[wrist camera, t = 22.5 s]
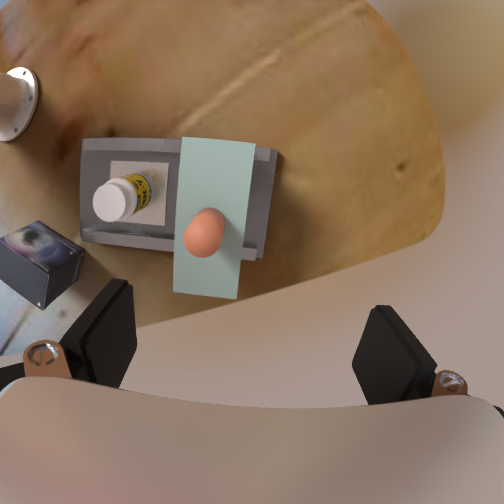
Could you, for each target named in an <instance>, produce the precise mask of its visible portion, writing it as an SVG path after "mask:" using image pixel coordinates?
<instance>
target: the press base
mask: <svg viewBox="0 0 504 504" xmlns="http://www.w3.org/2000/svg"><path fill="white" fill-rule="evenodd" d="M181 146H182V140H180V139H158V138H84V139H82V147H81V163H80V233H81V238H82V241H85V242H93V243H102V244H110V245H118V246H127V247H135V248H144V249H153V250H161V251H170V252H174V237H175V218H176V203H177V189H178V177H179V166H180V156H181ZM277 154H278V150H277V149H271V148H264V147H256V146H255V152H254V160H253V168H252V176H251V184H250V192H249V199H248V207H247V215H246V224H245V232H244V240H243V248H242V256H241V259H242V260H252V261H255V260H256V258H263V253H264V246H265V239H266V232H267V225H268V218H269V211H270V204H271V197H272V190H273V183H274V176H275V168H276V161H277ZM129 174H140V175H143V176H144V177H146V178H147V179H148V181H149V182H150V184H151V187H152V198H151V200H150V202H149V204H148V205H147V206H146V207H145V208H144V209H142V210H140V211H139V212H137V213H135V214H134V215H132V216H130V217H129V218H127V219H125V220H120V221H114V222H106V221H103V220H102V219H100V218H99V217H98V216H97V214H96V213H95V211H94V208H93V197H94V194H95V192H96V190H97V189H98V188H99V187H101V186H102V185H104V184H105V183H106V182H107V181H109V180H111V179H113V178H117V177H121V176H125V175H129Z"/></svg>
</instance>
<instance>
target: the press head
mask: <svg viewBox="0 0 504 504" xmlns="http://www.w3.org/2000/svg"><path fill="white" fill-rule="evenodd" d="M255 145H256V144H255V143H247V142H238V141H229V140H218V139H206V138H193V137H182V146H181V156H180V166H179V177H178V189H177V203H176V218H175V237H174V264H173V292H178V293H186V294H194V295H202V296H211V297H220V298H229V299H236V298H237V290H238V281H239V273H240V265H241V256H242V248H243V240H244V232H245V224H246V215H247V207H248V199H249V192H250V184H251V176H252V168H253V160H254V152H255Z"/></svg>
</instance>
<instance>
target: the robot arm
mask: <svg viewBox="0 0 504 504" xmlns="http://www.w3.org/2000/svg"><path fill="white" fill-rule="evenodd" d="M37 99H38V82H37V78H36V76H35V74H34V73H33V72H32V71H31V70H30V69H28V68H24V67H18V68H15V69H13V70H11V71H9V72H8V73H7V74H5V73H0V141H10V140H13V139H15V138H16V137H18V136H19V135H20V134H21V133H22V132H23V131H24V130H25V128H26V127H27V126H28V124H29V122H30V120H31V118H32V116H33V113H34V111H35V107H36V104H37ZM136 348H137V338H136V326H135V315H134V301H133V287H132V285H129V284H128V281H127V280H121V279H114V278H113V279H112V280H111V281H110V282H109V283H108V284H107V285H106V286H105V288H104V289H103V290H102V291H101V292H100V293H99V294H98V295H97V297H96V298H95V299H94V300H93V301H92V302H91V303H90V305H89V306H88V307H87V308H86V309H85V310H84V312H83V313H82V314H81V315H80V316H79V318H78V319H77V320H76V321H75V322H74V324H73V325H72V326H71V327H70V328H69V330H68V331H67V332H66V333H65V335H64V336H63V338H62V339H61V340H60V342H59V343H57V342H54V341H50V340H41V341H37V342H34V343H33V344H31V345H29V346H28V347H27V348H26V350H25V351H24V354H23V362H22V363H18V364H14V365H11V366H7V367H3V368H0V504H504V411H503V410H502V409H501V408H499V407H496V406H493V405H491V404H490V403H489V402H488V401H486V400H484V399H481V398H477V397H472V396H470V395H468V394H467V392H468V386H467V383H466V381H465V380H464V379H463V377H461V376H460V375H459V374H457V373H455V372H453V371H449V370H443V371H440V372H438V373H437V374H436V373H435V372H434V371H435V369H436V367H437V364H436V362H435V361H434V360H433V358H432V357H431V356H430V354H429V353H428V352H427V350H426V349H425V348H424V347H423V345H422V344H421V343H420V341H419V340H418V339H417V338H416V336H415V335H414V334H413V333H412V331H411V330H410V329H409V328H408V326H407V325H406V324H405V323H404V321H403V320H402V319H401V318H400V317H399V315H398V314H397V313H396V312H395V311H394V309H393V308H392V307H391V306H388V305H387V306H386V305H377V306H376V307H375V308H373V309H372V310H371V312H370V314H369V317H368V320H367V323H366V326H365V329H364V332H363V335H362V337H361V340H360V342H359V345H358V348H357V350H356V353H355V355H354V358H353V361H352V368H353V370H354V373H355V375H356V377H357V379H358V382H359V384H360V386H361V388H362V391H363V393H364V395H365V398H366V400H367V402H368V405H364V406H351V407H334V408H304V409H303V408H297V409H296V408H288V409H287V408H258V407H241V406H228V405H218V404H209V403H200V402H192V401H185V400H178V399H171V398H165V397H158V396H153V395H148V394H143V393H138V392H133V391H128V390H124V389H119V386H120V384H121V382H122V380H123V377H124V375H125V373H126V371H127V369H128V366H129V364H130V362H131V360H132V358H133V356H134V353H135V351H136Z"/></svg>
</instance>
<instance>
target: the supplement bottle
mask: <svg viewBox="0 0 504 504" xmlns="http://www.w3.org/2000/svg"><path fill="white" fill-rule="evenodd" d="M151 198H152V187H151V184H150V182H149V181H148V179H147V178H146V177H144V176H143V175H140V174H129V175H125V176H121V177H117V178H113V179H111V180H109V181H107V182H106V183H105V184H104V185H102V186H101V187H99V188H98V189H97V190H96V192H95V194H94V197H93V208H94V211H95V213H96V214H97V216H98V217H99V218H100V219H102V220H103V221H106V222H114V221H120V220H125V219H127V218H129V217H130V216H132V215H134V214H135V213H137V212H139V211H140V210H142V209H144V208H145V207H146V206H147V205H148V204H149V202H150V200H151Z"/></svg>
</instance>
